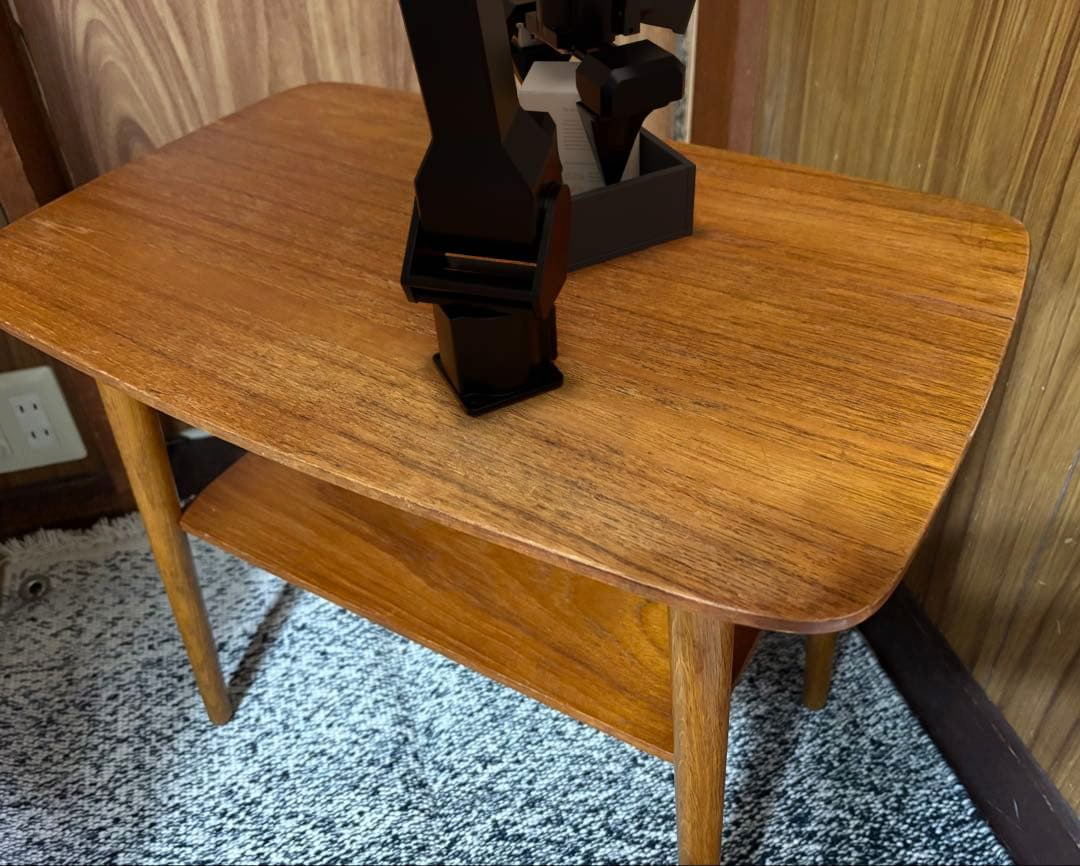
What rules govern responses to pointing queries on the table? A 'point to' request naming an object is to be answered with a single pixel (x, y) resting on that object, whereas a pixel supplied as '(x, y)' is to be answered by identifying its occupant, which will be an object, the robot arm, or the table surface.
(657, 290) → the table surface
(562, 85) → the small box
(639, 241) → the storage bin
